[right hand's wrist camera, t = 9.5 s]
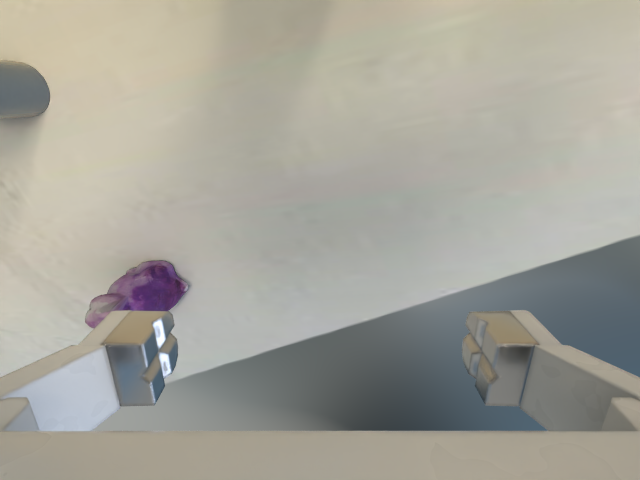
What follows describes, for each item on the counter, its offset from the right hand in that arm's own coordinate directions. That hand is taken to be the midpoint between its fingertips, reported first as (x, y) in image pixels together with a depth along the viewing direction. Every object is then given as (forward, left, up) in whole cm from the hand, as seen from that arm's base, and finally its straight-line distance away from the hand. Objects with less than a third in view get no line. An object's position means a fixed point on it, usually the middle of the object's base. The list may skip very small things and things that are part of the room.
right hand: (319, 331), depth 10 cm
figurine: (+23, -28, -48) cm, 60 cm away
